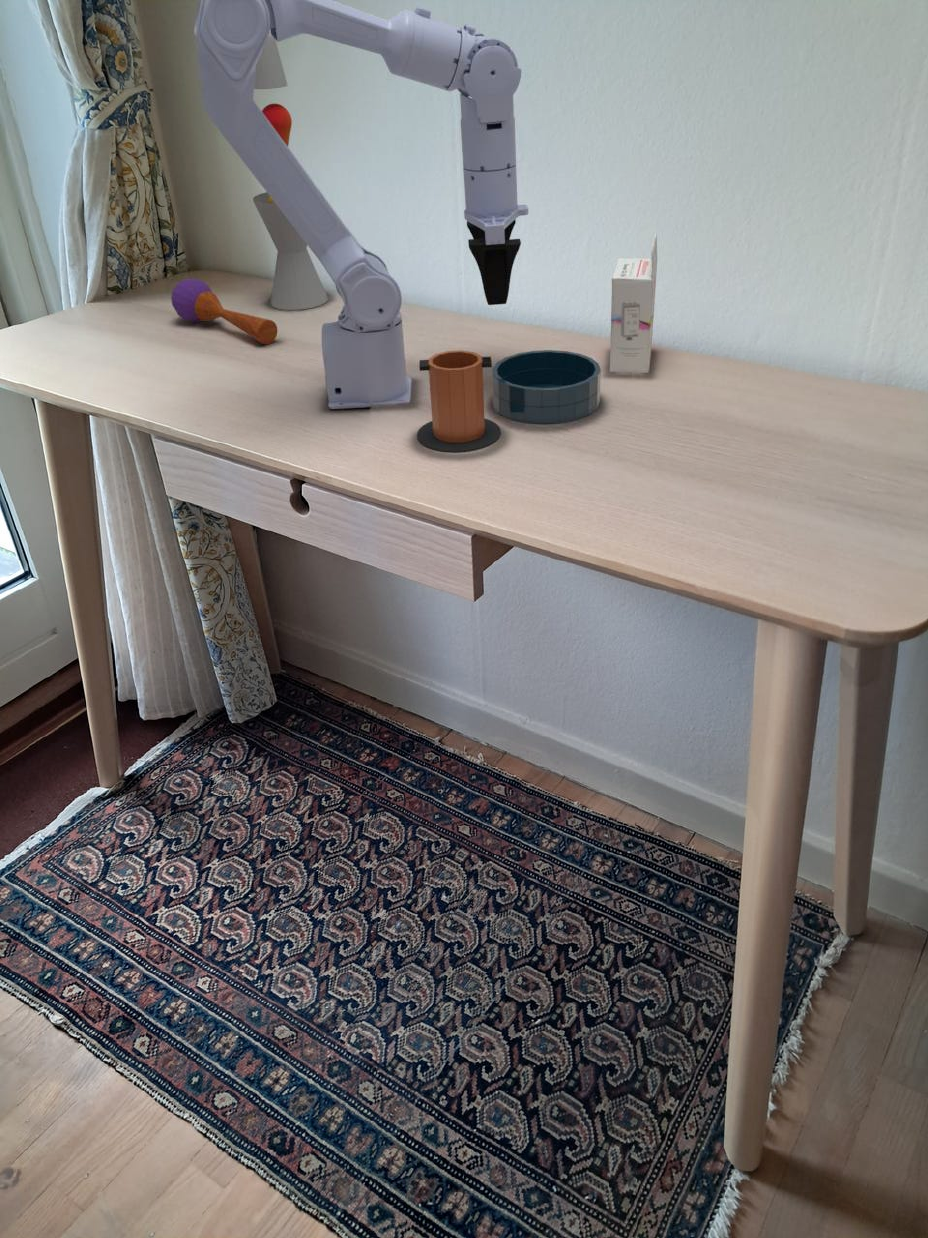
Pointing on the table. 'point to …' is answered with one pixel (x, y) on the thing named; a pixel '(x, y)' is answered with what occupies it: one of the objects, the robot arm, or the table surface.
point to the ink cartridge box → (633, 312)
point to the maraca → (217, 310)
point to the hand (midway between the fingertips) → (495, 293)
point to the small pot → (457, 394)
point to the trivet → (431, 442)
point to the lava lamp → (293, 264)
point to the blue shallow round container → (546, 387)
